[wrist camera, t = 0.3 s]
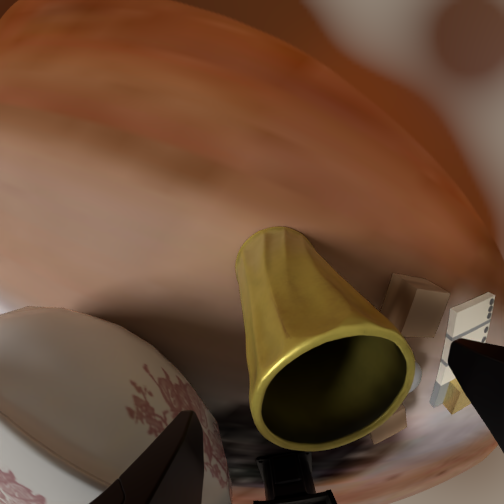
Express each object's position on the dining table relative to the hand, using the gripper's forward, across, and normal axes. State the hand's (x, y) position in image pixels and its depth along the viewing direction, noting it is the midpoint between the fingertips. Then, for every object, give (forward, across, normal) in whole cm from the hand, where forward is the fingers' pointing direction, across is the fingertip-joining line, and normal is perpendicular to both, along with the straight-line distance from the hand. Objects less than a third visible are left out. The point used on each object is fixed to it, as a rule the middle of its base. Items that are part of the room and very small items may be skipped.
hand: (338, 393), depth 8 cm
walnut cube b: (+14, -11, +5) cm, 18 cm away
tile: (+13, -21, +20) cm, 31 cm away
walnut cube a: (+14, -9, +18) cm, 24 cm away
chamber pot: (+14, +18, +9) cm, 25 cm away
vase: (+14, 0, 0) cm, 14 cm away
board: (+14, -21, +15) cm, 29 cm away
